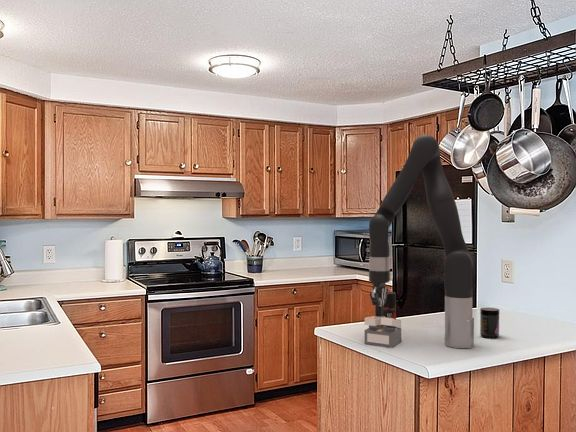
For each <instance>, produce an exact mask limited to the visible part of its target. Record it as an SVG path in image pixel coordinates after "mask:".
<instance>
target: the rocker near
mask: <svg viewBox="0 0 576 432" xmlns="http://www.w3.org/2000/svg"><path fill="white" fill-rule="evenodd" d="M381 325H386V326H393V327H399V328H402V320H401V319H397V318H396V319H394V318H387V317H382V318H381Z"/></svg>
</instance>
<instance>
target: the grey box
mask: <svg viewBox="0 0 576 432" xmlns="http://www.w3.org/2000/svg"><path fill="white" fill-rule="evenodd" d="M401 342H402V327H392V326H381V325H377V326H371V325H368V328H366V329H364V345H369V346H375V347H376V346H377V347H382V348H383V347H384V348H390V349H392V348H393V347H395V346H397V345H399V344H400V343H401Z"/></svg>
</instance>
